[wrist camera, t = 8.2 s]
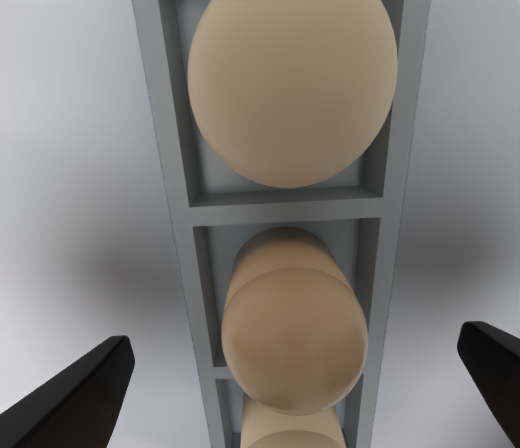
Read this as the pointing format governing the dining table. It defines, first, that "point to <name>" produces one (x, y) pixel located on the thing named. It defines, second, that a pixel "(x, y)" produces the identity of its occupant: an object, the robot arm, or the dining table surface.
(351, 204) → the carton
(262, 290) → the egg
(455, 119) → the dining table surface
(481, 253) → the dining table surface
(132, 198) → the dining table surface
